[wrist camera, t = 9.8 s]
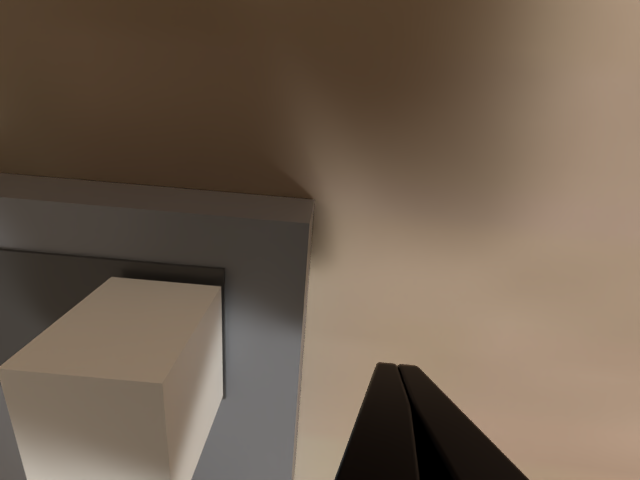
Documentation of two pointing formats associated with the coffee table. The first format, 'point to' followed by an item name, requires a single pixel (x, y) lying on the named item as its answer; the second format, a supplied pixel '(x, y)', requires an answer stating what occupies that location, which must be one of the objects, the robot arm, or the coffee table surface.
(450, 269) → the coffee table surface
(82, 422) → the tab
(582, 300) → the coffee table surface
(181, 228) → the switch plate
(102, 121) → the coffee table surface
